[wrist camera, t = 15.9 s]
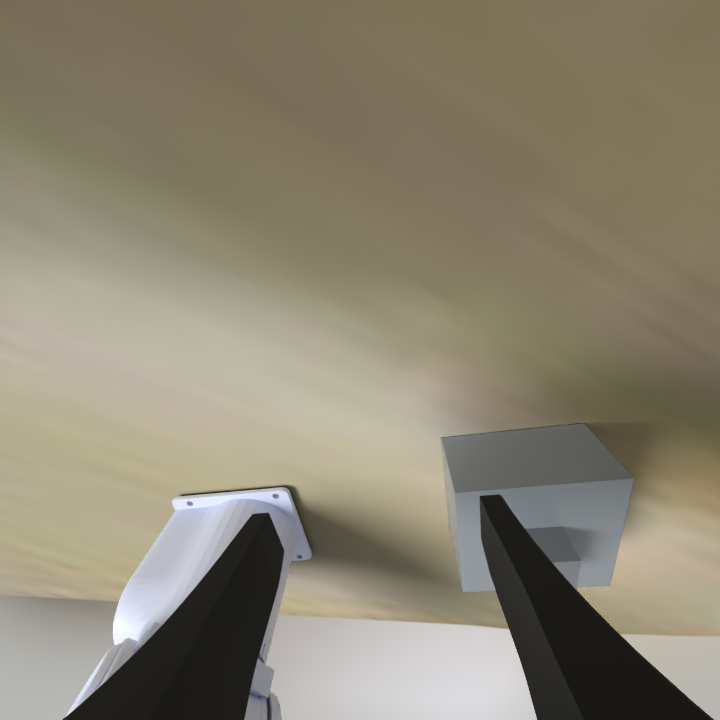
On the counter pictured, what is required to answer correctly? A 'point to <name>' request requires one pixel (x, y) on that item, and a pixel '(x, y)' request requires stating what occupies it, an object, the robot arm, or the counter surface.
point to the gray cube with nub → (539, 498)
